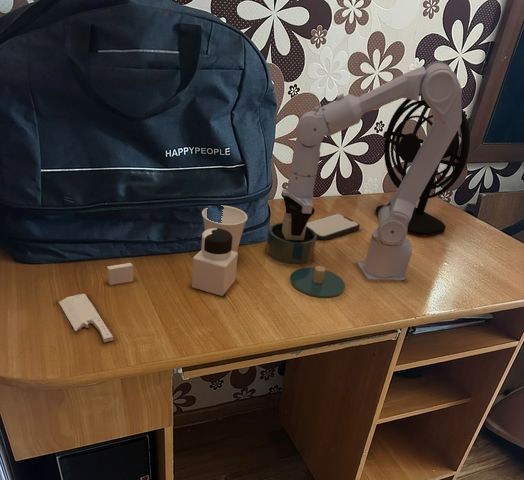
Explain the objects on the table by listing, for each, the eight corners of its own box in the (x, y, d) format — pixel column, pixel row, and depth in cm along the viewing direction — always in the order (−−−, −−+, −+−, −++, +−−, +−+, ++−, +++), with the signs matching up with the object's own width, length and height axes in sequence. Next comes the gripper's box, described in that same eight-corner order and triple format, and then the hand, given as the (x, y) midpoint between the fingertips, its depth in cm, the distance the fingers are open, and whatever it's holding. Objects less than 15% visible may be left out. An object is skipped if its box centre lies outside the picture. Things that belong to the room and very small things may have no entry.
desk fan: (353, 207, 152) (384, 78, 130) (393, 200, 161) (429, 78, 139) (421, 246, 135) (469, 106, 114) (461, 236, 144) (513, 104, 123)
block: (299, 231, 121) (302, 213, 118) (303, 240, 118) (307, 221, 115) (281, 231, 120) (284, 213, 117) (285, 239, 117) (288, 221, 114)
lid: (334, 271, 118) (338, 255, 115) (351, 300, 109) (356, 283, 106) (284, 271, 115) (287, 254, 113) (297, 300, 106) (300, 282, 103)
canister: (305, 244, 127) (309, 223, 124) (317, 266, 119) (322, 244, 115) (262, 243, 125) (265, 221, 121) (271, 266, 116) (275, 242, 113)
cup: (236, 274, 111) (241, 228, 105) (193, 265, 112) (195, 218, 106) (246, 254, 119) (252, 210, 113) (206, 246, 120) (209, 202, 113)
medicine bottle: (235, 281, 109) (240, 230, 102) (222, 297, 103) (227, 243, 96) (205, 273, 110) (208, 221, 103) (191, 287, 105) (193, 234, 97)
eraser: (108, 282, 102) (107, 266, 100) (131, 278, 105) (130, 262, 103) (110, 285, 102) (109, 269, 99) (133, 281, 104) (132, 265, 102)
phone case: (321, 243, 130) (360, 230, 139) (322, 237, 129) (362, 224, 138) (297, 229, 135) (337, 217, 144) (298, 224, 134) (338, 212, 143)
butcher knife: (84, 347, 85) (83, 342, 85) (59, 303, 95) (58, 298, 94) (113, 340, 88) (113, 335, 87) (86, 297, 97) (85, 292, 96)
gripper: (278, 159, 114) (270, 216, 123) (293, 183, 103) (283, 244, 112) (308, 161, 116) (298, 217, 124) (326, 185, 105) (314, 244, 113)
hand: (293, 230), depth 118 cm, fingers closed on block, 4 cm apart
